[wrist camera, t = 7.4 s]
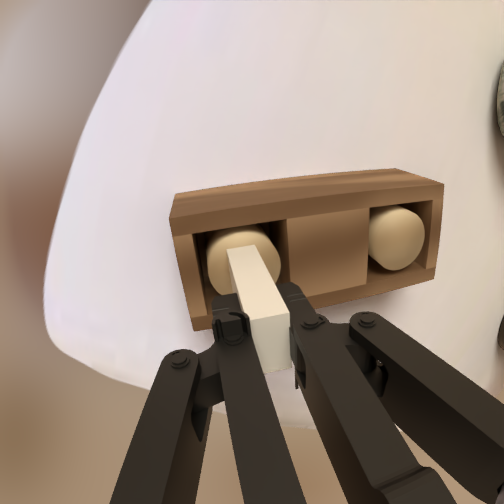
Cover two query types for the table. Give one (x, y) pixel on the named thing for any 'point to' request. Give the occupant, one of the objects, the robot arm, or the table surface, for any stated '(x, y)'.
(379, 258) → the peg right
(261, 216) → the walnut block
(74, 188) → the table surface
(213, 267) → the peg left
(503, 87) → the grey green ridged egg
